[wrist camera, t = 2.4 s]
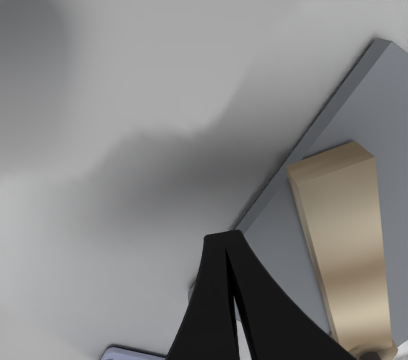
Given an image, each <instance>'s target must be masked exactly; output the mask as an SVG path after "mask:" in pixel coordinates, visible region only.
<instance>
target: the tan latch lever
mask: <svg viewBox="0 0 408 360" xmlns="http://www.w3.org/2000/svg"><path fill="white" fill-rule="evenodd" d="M285 168H286V171H287V175H288V178H289V182H290V185H291V189H292V193H293V196H294V200H295V203H296V207H297V210H298V214H299V217H300V221H301V225H302V228H303V232H304V235H305V239H306V242H307V246H308V250H309V253H310V257H311V260H312V264H313V267H314V271H315V274H316V278H317V282H318V285H319V289H320V292H321V296H322V299H323V303H324V307H325V310H326V314H327V317H328V321H329V324H330V328H331V331H332V333H331V335H330V337H331V338H333V339H334V340H335V341H336V342H337V343H338V344H339V345H341V346H342V347H343V348H344V349H345V350H346V351H348V352H349V353H350V354H351V355H353V356H354V357H355V358H356V359H358V360H392V359H393V358H394V357H395V356H396V354H397V352H398V348H397V346H396V344H395V343H394V341H393V339H392V336H391V325H390V314H389V303H388V293H387V282H386V271H385V260H384V249H383V238H382V227H381V216H380V205H379V195H378V184H377V173H376V162H375V156H374V155H372V154H371V153H370V152H368V151H367V150H366V149H365V148H363V147H362V146H361V145H359V144H358V143H357V142H356V141H352V142H350V143H347V144H344V145H341V146H339V147H336V148H333V149H331V150H328V151H325V152H323V153H320V154H317V155H314V156H312V157H309V158H306V159H304V160H301V161H298V162H295V163H293V164H290V165H287V166H285Z"/></svg>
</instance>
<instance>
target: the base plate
mask: <svg viewBox="0 0 408 360" xmlns="http://www.w3.org/2000/svg"><path fill="white" fill-rule="evenodd" d="M352 141H356V142H357V143H358V144H359V145H361V146H362V147H363V148H365V149H366V150H367V151H368V152H370V153H371V154H372V155H374V156H375V162H376V173H377V184H378V195H379V205H380V216H381V227H382V238H383V249H384V260H385V271H386V282H387V293H388V303H389V314H390V325H391V336H392V339H393V341H394V343H395V344H396V346H397V347H398V346H400V345H401V344H402V343H404V342H405V341H407V340H408V53H407V52H406V51H404V50H403V49H402V48H400V47H399V46H398V45H397V44H395V43H394V42H393V41H388V40H383V39H377V38H376V39H375V41H374V42H373V43H372V45H371V46H370V47H369V49H368V50H367V51H366V53H365V54H364V55H363V57H362V58H361V60H360V61H359V62H358V64H357V65H356V66H355V68H354V69H353V70H352V72H351V73H350V74H349V76H348V77H347V78H346V80H345V81H344V82H343V84H342V85H341V87H340V88H339V89H338V91H337V92H336V93H335V95H334V96H333V97H332V99H331V100H330V101H329V103H328V104H327V105H326V107H325V108H324V110H323V111H322V112H321V114H320V115H319V116H318V118H317V119H316V120H315V122H314V123H313V124H312V126H311V127H310V128H309V130H308V131H307V132H306V134H305V135H304V137H303V138H302V139H301V141H300V142H299V143H298V145H297V146H296V147H295V149H294V150H293V151H292V153H291V154H290V155H289V157H288V158H287V160H286V161H285V162H284V164H283V165H282V166H281V168H280V169H279V170H278V172H277V173H276V174H275V176H274V177H273V178H272V180H271V181H270V182H269V184H268V185H267V187H266V188H265V189H264V191H263V192H262V193H261V195H260V196H259V197H258V199H257V200H256V201H255V203H254V204H253V205H252V207H251V208H250V210H249V211H248V212H247V214H246V215H245V216H244V218H243V219H242V220H241V222H240V223H239V224H238V226H237V227H236V228H235V230H238V229H239V230H241V231H242V233H243V235H244V237H245V239H246V241H247V242H248V244H249V246H250V247H251V249H252V250H253V252H254V253H255V255H256V256H257V258H258V259H259V261H260V262H261V263H262V265H263V266H264V267H265V269H266V270H267V271H268V273H269V274H270V275H271V276H272V278H273V279H274V280H275V281H276V282H277V284H278V285H279V286H280V287H281V288H282V289H283V291H284V292H285V293H286V294H287V295H288V296H289V297H290V298H291V299H292V300H293V302H294V303H295V304H296V305H297V306H298V307H299V308H300V309H301V310H302V311H303V312H304V313H305V314H306V315H307V316H308V317H309V318H310V319H311V320H313V321H314V322H315V323H316V324H317V325H318V326H319V327H320V328H321V329H322V330H323V331H324V332H326V333H327V334H328V335H329V336H330V335H331V333H332V331H331V328H330V324H329V321H328V317H327V314H326V310H325V307H324V303H323V299H322V296H321V292H320V289H319V285H318V282H317V278H316V274H315V271H314V267H313V264H312V260H311V257H310V253H309V250H308V246H307V242H306V239H305V235H304V232H303V228H302V225H301V221H300V217H299V214H298V210H297V207H296V203H295V200H294V196H293V193H292V189H291V185H290V182H289V178H288V175H287V171H286V168H285V166H287V165H290V164H293V163H295V162H298V161H301V160H304V159H306V158H309V157H312V156H314V155H317V154H320V153H323V152H325V151H328V150H331V149H333V148H336V147H339V146H341V145H344V144H347V143H350V142H352ZM194 286H195V284H194V285H193V287H192V288H191V289H190V291H189V292H188V302H190V299H191V295H192V292H193V289H194ZM234 303H235V314H236V320H238V321H241V320H240V316H239V313H238V309H237V306H236V302H235V299H234Z"/></svg>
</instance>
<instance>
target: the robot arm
mask: <svg viewBox="0 0 408 360" xmlns="http://www.w3.org/2000/svg"><path fill="white" fill-rule="evenodd" d="M234 299H235V302H236V306H237V309H238V313H239V316H240V320H241V323H242V327H243V330H244V334H245V337H246V341H247V344H248V348H249V351H250V355H251V358H252V360H358V359H356V358H355V357H354V356H353V355H351V354H350V353H349V352H348V351H346V350H345V349H344V348H343V347H342V346H341V345H339V344H338V343H337V342H336V341H335V340H334V339H333V338H331V337H330V336H329V335H328V334H327V333H326V332H324V331H323V330H322V329H321V328H320V327H319V326H318V325H317V324H316V323H315V322H314V321H313V320H311V319H310V318H309V317H308V316H307V315H306V314H305V313H304V312H303V311H302V310H301V309H300V308H299V307H298V306H297V305H296V304H295V303H294V302H293V300H292V299H291V298H290V297H289V296H288V295H287V294H286V293H285V292H284V291H283V289H282V288H281V287H280V286H279V285H278V284H277V282H276V281H275V280H274V279H273V278H272V276H271V275H270V274H269V273H268V271H267V270H266V269H265V267H264V266H263V265H262V263H261V262H260V261H259V259H258V258H257V256H256V255H255V253H254V252H253V250H252V249H251V247H250V246H249V244H248V242H247V241H246V239H245V237H244V235H243V233H242V231H241V230H239V229H238V230H232V231H227V232H221V233H215V234H210V235H206V236H205V237H204V244H203V252H202V258H201V263H200V267H199V271H198V275H197V279H196V283H195V286H194V289H193V292H192V295H191V299H190V302H189V305H188V307H187V310H186V313H185V316H184V318H183V321H182V323H181V326H180V328H179V330H178V333H177V335H176V337H175V339H174V342H173V344H172V346H171V348H170V350H169V352H168V354H167V356H166V358H162V357H157V356H152V355H148V354H143V353H138V352H134V351H129V350H124V349H120V348H114V347H113V348H109V349H107V350H106V352H105V353H104V355H103V357H102V358H101V360H240V357H239V346H238V335H237V325H236V314H235V303H234Z"/></svg>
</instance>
